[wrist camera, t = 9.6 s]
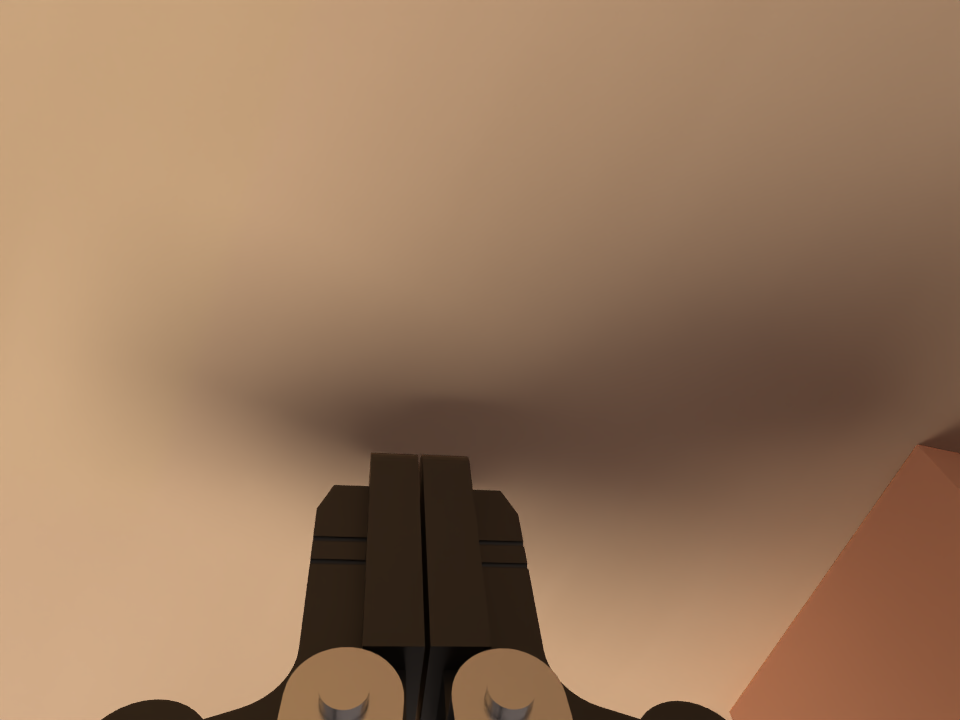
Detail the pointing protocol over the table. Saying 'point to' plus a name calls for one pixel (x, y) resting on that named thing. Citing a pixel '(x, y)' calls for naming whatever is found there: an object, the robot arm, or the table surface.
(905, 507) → the terracotta block
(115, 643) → the table surface
